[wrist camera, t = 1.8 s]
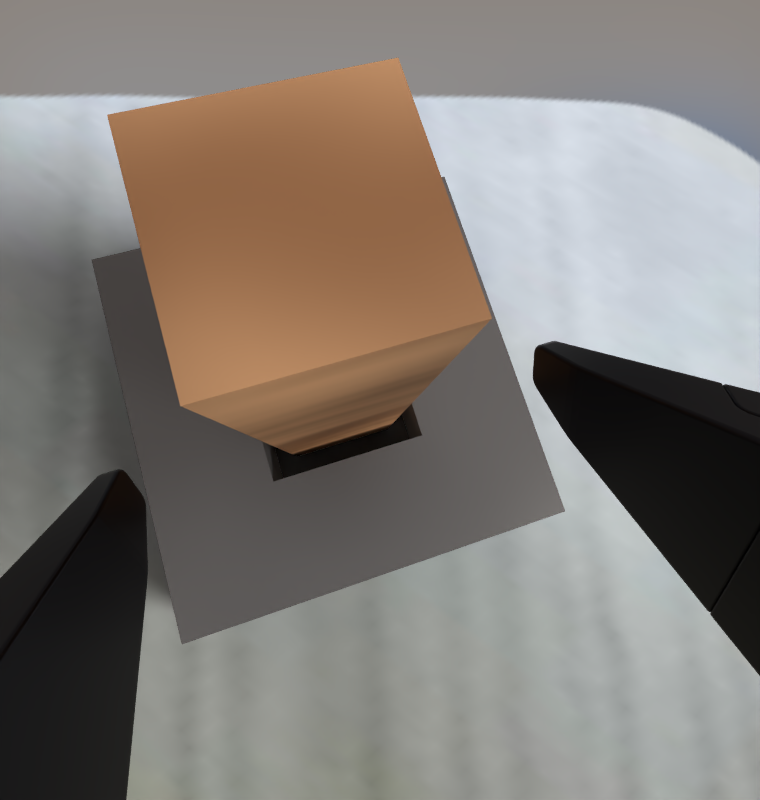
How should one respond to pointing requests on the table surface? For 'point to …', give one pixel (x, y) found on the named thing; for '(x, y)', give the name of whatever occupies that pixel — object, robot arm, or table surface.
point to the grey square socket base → (317, 476)
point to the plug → (300, 253)
